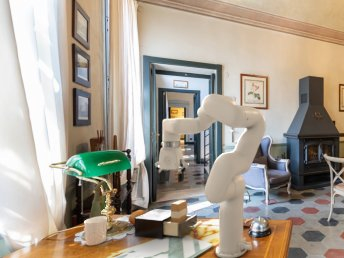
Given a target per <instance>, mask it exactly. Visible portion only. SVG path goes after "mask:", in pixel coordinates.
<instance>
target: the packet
mask: <svg viewBox="0 0 344 258" xmlns="http://www.w3.org/2000/svg"><path fill="white" fill-rule="evenodd" d="M170 208H171V209H170V210H171V222H175V223H179V224H180V223H182V222H183V221H185V220H187V215H188V200H186V199H185V200H184V199H178V200H177V201H174V202H172V203H170Z"/></svg>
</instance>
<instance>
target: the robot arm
mask: <svg viewBox="0 0 344 258" xmlns="http://www.w3.org/2000/svg"><path fill="white" fill-rule="evenodd" d="M216 122H219V123H221V124H224V125H225V126H226V127H229V128H234V129H244V131H243V132H242V133H241V135H240V136H239V138H238V139H237V142H236V145H235V147H234V149H233V150H232V151H228V152H224V153H221V154H219V156H218V157H217V158H216V159H215V160H214V162H213V164H212V167H211V169H210V171H209V175H208V177H207V180H206V182H205V186H204V196H205V198H206V200H207V201H208V202H209V203H211V204H213V205H214V204H215V205H216V204H219V213H218V217H219V219H218V221H219V231H218V232H219V241H218V242H219V244H218V245H217V246H216V248H215V255H216V256H217V257H218V258H238V257H241V256H243V255H245V253H247V251H252V250H253V245H252V244H253V243H252V242H251V241H247V240H246V239H247V238H246V237H245V236H244V200H245V194H246V187H247V186H246V180H245V178H244V177H243V175H244V174H247V173H248V172H249V171H250V169H251V167H252V164H253V162H254V160H255V157H256V155H257V152H258V150H259V147H260V145H261V142H262V140H263V138H264V136H265V133H266V130H267V121H266V118H265V115H264V114H263V113H262V111H261V110H259V109H258V108H256V107H252V106H247V105H239V104H237V101H235V99H234V98H233V97H231V96H229V95H224V94H218V93H210V94H208V95H206V96H205V97H204V98H203V100H202V102H201V106H200V107H199V108H198V109H197V117H195V118H193V117H192V118H191V117H174V118H164V119H162V142H161V143H160V145H161V146H162V147H161V148H160V151H159V156H158V161H156V162H155V163H154V166H155V168H156V170H157V172H158V173H159V182H164V181H166V174H167V173H166V170H167V171H176V170H177V172H178V173H177V182H178V183H181V182H184V180H185V173H186V171H187V170H188V168H189V166H190V163H188V162H186V161H185V160H184V153H183V148H182V147H181V135H196V134H199V133H202V132H205V131H206V130H208V129H209V128H210V127H211V126H212V124H215V123H216Z"/></svg>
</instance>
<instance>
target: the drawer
mask: <svg viewBox="0 0 344 258" xmlns="http://www.w3.org/2000/svg"><path fill="white" fill-rule="evenodd" d="M202 224H203V221H201V220H200V221H198V214H194V215H189V214H187V220H185V221H183V222H182V223H180V224H179V223H175V222H171V218H170V219H168V220H166V221H164V222H163V235H167V236H173V237H178V238H179V239H183V238H184V237H186V236H187V235H188V234H189V233H191V232H193V231H194V230H196V229H197V228H198V227H199V226H201V225H202Z"/></svg>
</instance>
